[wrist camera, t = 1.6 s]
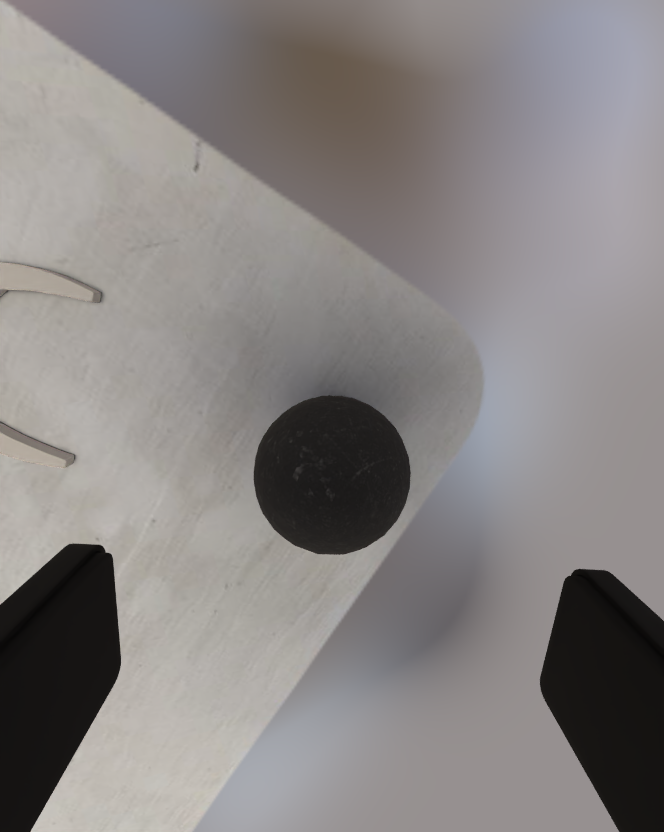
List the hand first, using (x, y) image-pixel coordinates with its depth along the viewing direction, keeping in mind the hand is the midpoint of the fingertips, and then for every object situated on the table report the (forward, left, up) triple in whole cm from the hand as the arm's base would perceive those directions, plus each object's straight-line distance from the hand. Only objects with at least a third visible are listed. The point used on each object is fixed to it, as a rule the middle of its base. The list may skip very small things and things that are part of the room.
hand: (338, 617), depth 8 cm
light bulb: (0, 0, -14) cm, 14 cm away
